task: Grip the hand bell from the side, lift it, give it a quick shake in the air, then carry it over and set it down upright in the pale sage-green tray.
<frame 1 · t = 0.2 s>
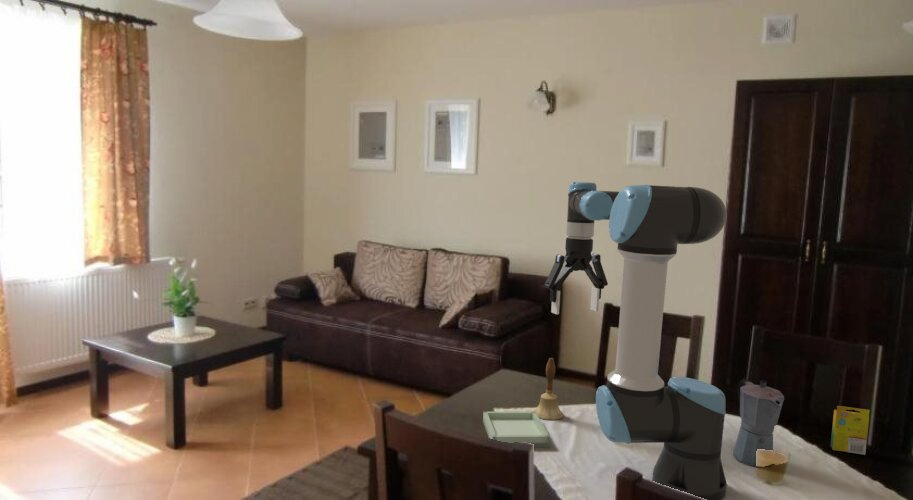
hand: (574, 311, 183), 27 cm above the table, tool pointing down, fingers open, 13 cm apart
moka pot: (750, 459, 155), on the table
crayon box: (847, 451, 162), on the table
hand bell: (548, 415, 178), on the table
tray: (514, 434, 164), on the table
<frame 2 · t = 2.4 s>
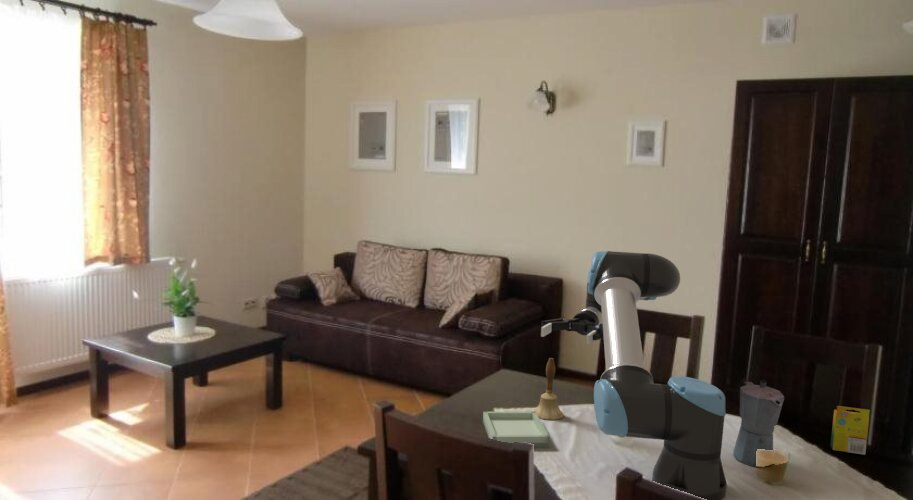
hand: (564, 335, 184), 20 cm above the table, tool horizontal, fingers open, 13 cm apart
nothing on the table moved.
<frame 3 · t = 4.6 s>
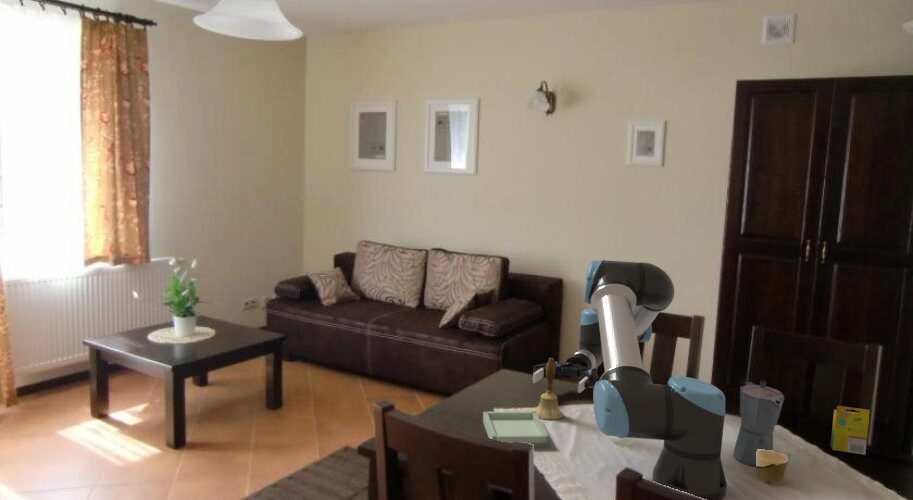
hand: (556, 383, 183), 7 cm above the table, tool horizontal, fingers open, 13 cm apart
nothing on the table moved.
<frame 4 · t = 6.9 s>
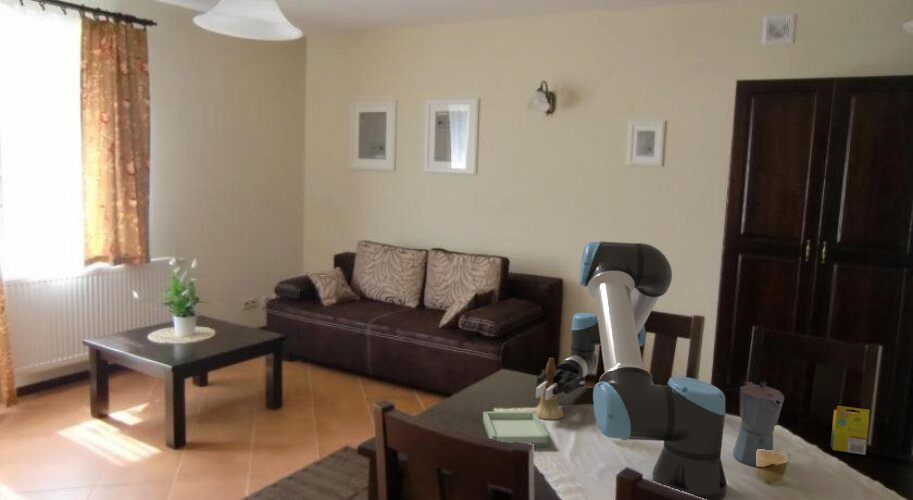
hand: (542, 393, 172), 8 cm above the table, tool horizontal, fingers closed on hand bell, 2 cm apart
hand bell: (548, 415, 178), on the table, touching gripper
everything else where it was.
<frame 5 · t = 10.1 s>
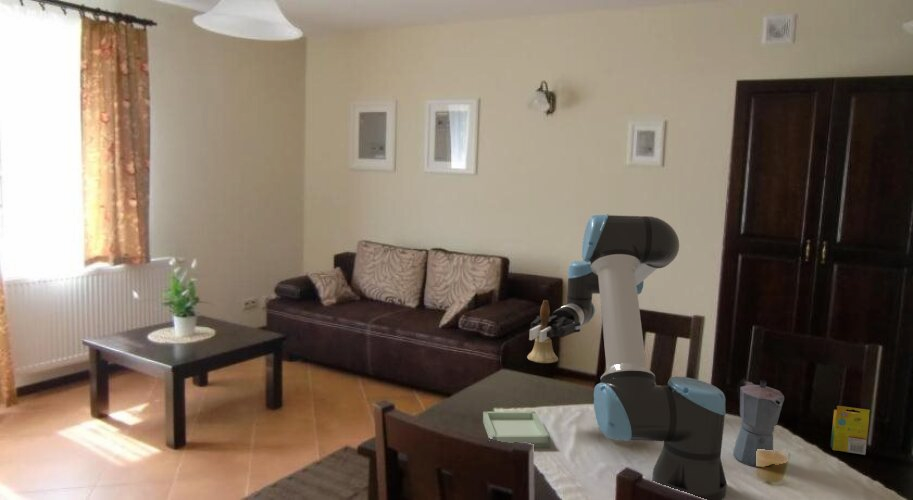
hand: (535, 335, 168), 24 cm above the table, tool horizontal, fingers closed on hand bell, 2 cm apart
hand bell: (542, 359, 174), point 16 cm above the table, touching gripper
everything else where it was.
when the fingers open (10 cm above the table, at t = 12.9 s): hand bell drops 1 cm, resting on tray.
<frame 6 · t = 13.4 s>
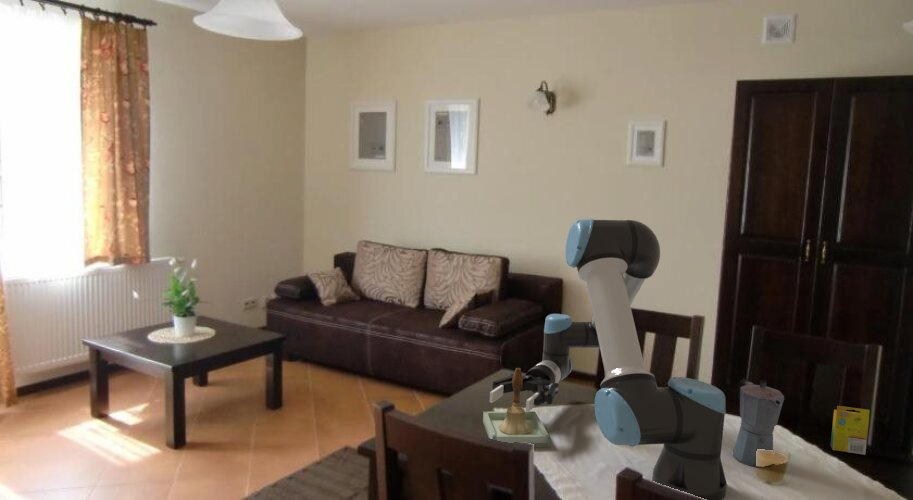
hand: (509, 401, 159), 10 cm above the table, tool horizontal, fingers open, 9 cm apart
hand bell: (515, 430, 164), point 1 cm above the table, touching tray
everything else where it was.
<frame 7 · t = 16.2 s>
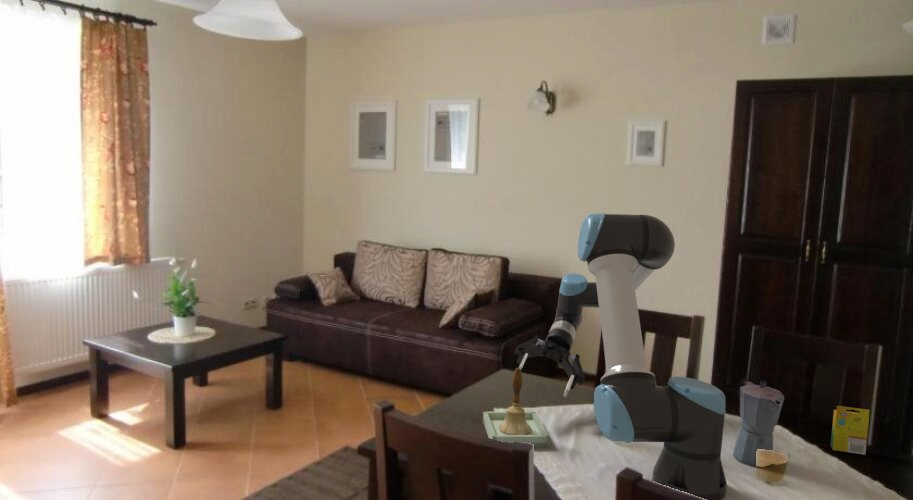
hand: (542, 381, 171), 11 cm above the table, tool tilted 70°, fingers open, 13 cm apart
nothing on the table moved.
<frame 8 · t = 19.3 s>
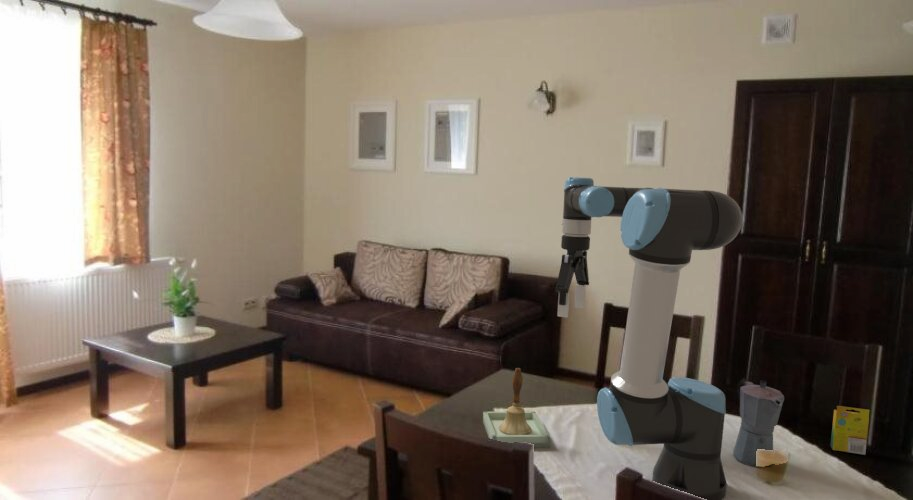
hand: (571, 312, 176), 29 cm above the table, tool pointing down, fingers open, 13 cm apart
nothing on the table moved.
at the end: hand bell inside the target area on the tray (0.1 cm from its centre), point 1.0 cm above the tray's base; hand bell tilted 0°; the gripper is holding nothing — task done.
